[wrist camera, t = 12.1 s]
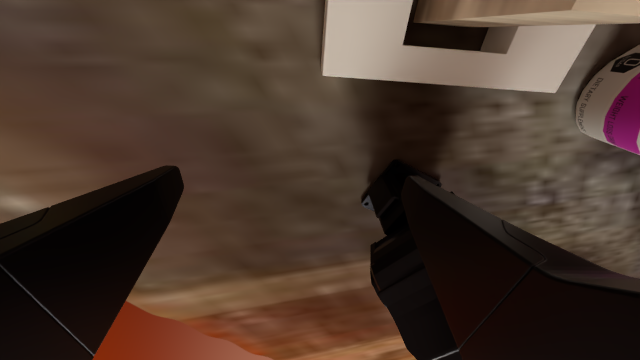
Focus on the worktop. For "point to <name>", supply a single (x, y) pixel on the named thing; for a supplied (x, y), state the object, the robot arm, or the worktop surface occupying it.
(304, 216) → the worktop surface
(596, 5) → the block
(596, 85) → the supplement can
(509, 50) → the white flat frame
